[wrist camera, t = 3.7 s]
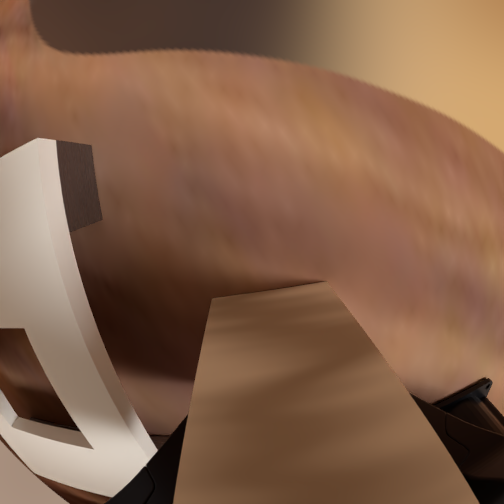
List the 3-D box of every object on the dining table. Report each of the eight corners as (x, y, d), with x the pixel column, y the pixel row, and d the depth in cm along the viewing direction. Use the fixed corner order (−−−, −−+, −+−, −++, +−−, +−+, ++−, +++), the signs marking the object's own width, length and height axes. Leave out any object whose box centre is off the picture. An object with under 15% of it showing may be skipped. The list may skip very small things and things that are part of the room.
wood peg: (326, 281, 11) (485, 514, 1) (328, 369, 12) (405, 566, 3) (212, 298, 11) (162, 585, 1) (231, 385, 12) (229, 600, 3)
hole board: (91, 145, 9) (37, 138, 6) (192, 463, 14) (186, 507, 11) (-50, 212, 9) (-89, 223, 6) (50, 443, 14) (34, 473, 11)
